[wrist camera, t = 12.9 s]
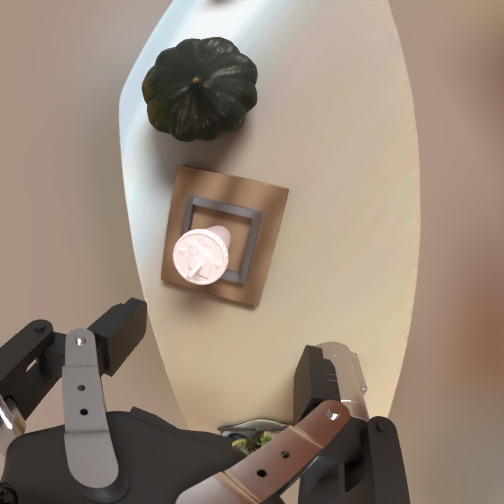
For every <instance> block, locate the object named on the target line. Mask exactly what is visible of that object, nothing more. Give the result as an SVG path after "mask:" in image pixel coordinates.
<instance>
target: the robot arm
mask: <svg viewBox="0 0 504 504" xmlns="http://www.w3.org/2000/svg"><path fill="white" fill-rule="evenodd" d="M146 318H147V303H146V302H145V301H142V300H139V299H136V298H130V299H129V300H128V301H127V302H126V303H125V304H122V303H120V304H118V305H115V306H113V307H111V308H110V309H109V310H108V311H107V312H106V313H105V314H103V315H102V317H100V318H99V319H98V320H96V321H95V322H94V323H93V324H92V325H91V326H89V327H88V328H87V329H81V328H79V329H74V330H71V331H70V332H69V333H68V334H67V335H66V334H62V333H57V332H54V331H53V326H52V324H51V323H50V322H49V321H47V320H35V321H32V322H31V323H29V324H28V325H27V326H26V327H24V329H22V330H21V331H20V332H19V333H17V334H16V335H15V336H14V337H12V338H11V339H10V340H9V341H8V342H7V343H5V344H4V345H3V346H2V347H1V348H0V457H1V458H2V459H4V460H5V466H4V471H3V475H2V478H1V481H0V504H285V503H284V502H283V500H282V499H281V497H280V495H281V494H283V493H284V492H285V491H286V490H287V489H288V488H289V487H290V486H291V485H292V484H293V483H294V482H295V481H296V480H297V479H298V478H299V477H300V486H299V495H298V504H410V498H409V492H408V485H407V479H406V474H405V468H404V463H403V458H402V453H401V448H400V444H399V439H398V435H397V430H396V427H395V425H394V424H393V423H392V421H390V420H389V419H387V418H385V417H381V416H375V417H373V418H371V419H369V415H368V411H367V408H366V403H365V399H364V396H363V395H364V394H365V392H366V391H367V386H366V383H365V379H364V376H363V373H362V369H361V366H360V363H359V360H358V356H357V354H356V353H352V352H351V351H350V350H349V348H347V347H346V346H345V345H342V344H340V343H334V342H329V343H323V344H320V345H318V346H316V347H315V346H310V345H306V347H305V349H304V351H303V354H302V356H301V359H300V361H299V364H298V366H297V369H296V372H295V376H294V413H293V425H290V426H288V427H287V428H286V429H284V430H283V431H282V432H281V433H279V434H278V435H277V436H275V437H274V438H273V439H271V440H270V441H269V442H267V443H266V444H265V445H263V446H262V447H261V448H259V449H258V450H256V451H255V452H253V453H252V454H251V455H249V456H248V455H247V454H246V453H244V452H243V451H242V450H240V449H238V448H236V447H234V446H232V442H233V438H229V437H225V436H221V435H217V434H213V433H209V432H201V431H190V430H182V429H178V428H176V427H175V426H173V425H171V424H169V423H168V422H166V421H164V420H163V419H161V418H159V417H158V416H156V415H154V414H151V413H149V412H146V411H143V410H141V409H139V408H136V407H133V408H132V409H131V411H130V412H123V411H111V412H107V409H106V404H105V399H104V393H103V388H102V382H101V376H102V375H103V374H104V373H105V374H107V375H109V376H111V377H112V376H113V374H114V373H115V372H116V371H117V370H118V368H119V367H120V366H121V365H122V363H123V362H124V361H125V360H126V358H127V357H128V356H129V355H130V353H131V352H132V351H133V350H134V348H135V347H136V346H137V345H138V343H139V342H140V341H141V340H142V338H143V337H144V334H145V332H146V320H147V319H146ZM34 360H36V363H35V364H34V365H33V366H32V367H31V368H30V369H29V370H28V371H27V372H26V370H27V367H28V366H29V365H30V364H31V363H32V362H33V361H34ZM60 377H62V386H63V387H62V389H63V409H64V422H65V424H64V425H60V426H56V427H52V428H48V429H44V430H39V431H35V432H30V433H26V434H24V432H25V430H26V424H25V421H26V420H27V418H28V417H29V416H30V414H31V413H32V412H33V411H34V409H35V408H36V407H37V405H38V404H39V403H40V402H41V400H42V399H43V398H44V397H45V396H46V394H47V393H48V392H49V391H50V389H51V388H52V387H53V386H54V384H55V383H56V382H57V381H58V379H60Z"/></svg>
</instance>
